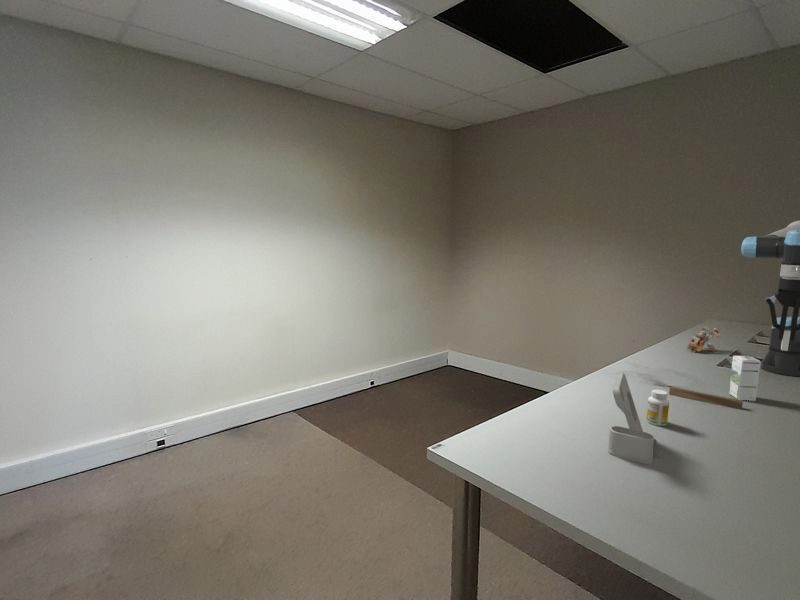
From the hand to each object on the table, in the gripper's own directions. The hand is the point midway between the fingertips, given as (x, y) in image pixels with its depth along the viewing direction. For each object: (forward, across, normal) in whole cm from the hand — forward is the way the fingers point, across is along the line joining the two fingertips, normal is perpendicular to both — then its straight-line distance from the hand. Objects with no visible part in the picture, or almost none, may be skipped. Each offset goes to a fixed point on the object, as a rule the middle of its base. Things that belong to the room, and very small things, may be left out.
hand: (784, 349), depth 134 cm
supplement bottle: (+20, -29, -42) cm, 54 cm away
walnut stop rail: (+19, -19, -12) cm, 29 cm away
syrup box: (+19, -9, 0) cm, 21 cm away
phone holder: (+20, -32, -62) cm, 73 cm away
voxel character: (+19, -23, +66) cm, 72 cm away
